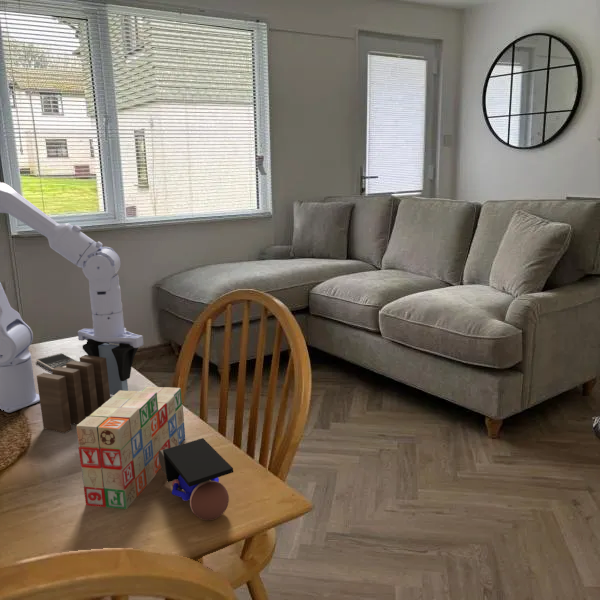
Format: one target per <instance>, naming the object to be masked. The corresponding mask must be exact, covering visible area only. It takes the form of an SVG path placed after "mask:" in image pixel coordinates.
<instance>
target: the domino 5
mask: <svg viewBox="0 0 600 600" xmlns="http://www.w3.org/2000/svg"><path fill="white" fill-rule="evenodd" d="M118 346H119V344H113V343H109V344H101V345H99V346H98V349H99V357H103V358H106V362H107V372H108V381H109V391H110V396H111V395H112V396H114V395H115V394H116V393H117V392H119V391H120V390H122V391H129V385H128V384H129V383H128V379H127V380H125V381H120V378H119V372H118V366H117V362H116V359H115V357H114V354H113V352H112V349H113V348H115V347H118Z"/></svg>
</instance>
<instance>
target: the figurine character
mask: <svg viewBox="0 0 600 600" xmlns="http://www.w3.org/2000/svg"><path fill="white" fill-rule="evenodd" d="M159 461H160V465H161V468H160V469H161V470H162V472H163V474H165V476H166V481H167V483H171V485H172V490H171V494H172V495H173V496H176V497H179V498H181V499H182V501H184V502H188V501H189V506H190V509H191V512H192V513H193V514H194V515H195V516H196V517H197V518H198V519H199V520H204V521H212V520H216V519H218V518H219V517H221V516H222V515H223V514H224V513H225V512H226V511H227V509H228V505H229V502H230V497H229V496H230V495H229V492H228V490H227V488H226V487H225V486H224V485H223V484H222V483H221V482H220V478H221V477H223V476H226V475H230V474H232V473H234V467H233V466H232V465H231V464H230V463H228V462H227V461H226V459H224V458H223V456H222V455H221V454H220V453H218V451H217V450H216V449H214V448H213V446H211V444H209V442H208V441H206V440H205V438H203V437H202V438H199V439H195V440H191V441H188V442H186V443H181V444H180V445H178V446H175V447H171V448H166V449H163V450H160V451H159Z"/></svg>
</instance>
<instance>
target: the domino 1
mask: <svg viewBox="0 0 600 600" xmlns="http://www.w3.org/2000/svg"><path fill="white" fill-rule="evenodd" d="M36 382H37V389H38V390H37V391H38V394H39V398H40V402H39V403H40V412H41V418H42V419H41V420H42V427H43V429H44V430H48V431H52V432H57V433H63V434H66V433H67V432H70V431H72V424H71V419H70V411H69V403H68V395H67V387H66V379H65V376H60V375H54V374H52V373H47V372H42V373H39V374H38V375H36Z"/></svg>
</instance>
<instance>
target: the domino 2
mask: <svg viewBox="0 0 600 600" xmlns="http://www.w3.org/2000/svg"><path fill="white" fill-rule="evenodd" d="M51 374H54V375H60V376H65V379H66V387H67V395H68V403H69V411H70V419H71V425H76V426H77V425H78V424H79V423H80V422H82V421H83V420H84V419H85V418H86V416H85V412H84V404H83V395H82V386H81V378H80V370H78V369H71V368H65V367H59V366H58V367H56V368H54V369H52V371H51Z"/></svg>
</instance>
